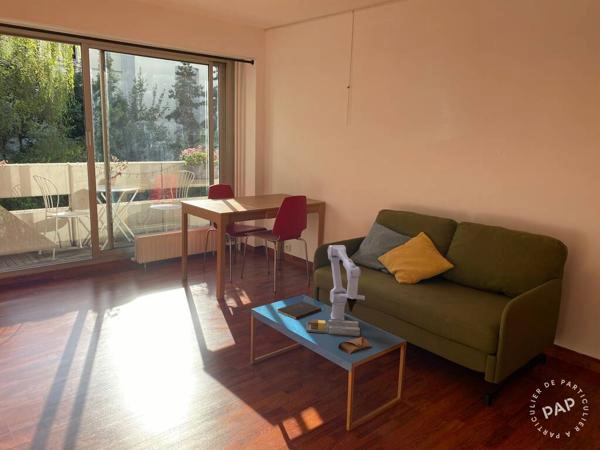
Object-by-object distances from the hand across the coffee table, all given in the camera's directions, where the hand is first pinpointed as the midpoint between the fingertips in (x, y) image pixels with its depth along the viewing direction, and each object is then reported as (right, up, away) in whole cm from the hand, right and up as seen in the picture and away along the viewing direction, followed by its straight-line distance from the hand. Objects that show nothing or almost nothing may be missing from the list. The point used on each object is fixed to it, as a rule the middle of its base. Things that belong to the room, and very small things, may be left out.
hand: (350, 310), depth 267 cm
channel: (-4, -11, -2) cm, 12 cm away
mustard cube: (-17, -10, -2) cm, 19 cm away
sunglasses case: (0, -16, -22) cm, 27 cm away
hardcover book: (-29, -5, +24) cm, 38 cm away
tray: (-19, -10, -1) cm, 21 cm away
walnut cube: (-21, -9, -1) cm, 23 cm away
